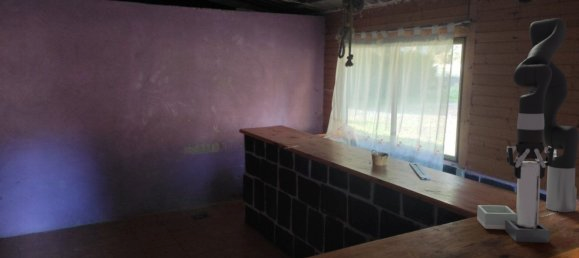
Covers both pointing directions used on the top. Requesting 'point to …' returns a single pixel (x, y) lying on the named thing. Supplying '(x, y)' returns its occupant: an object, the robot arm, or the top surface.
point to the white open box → (494, 216)
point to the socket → (527, 233)
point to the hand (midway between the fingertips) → (528, 178)
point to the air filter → (528, 195)
